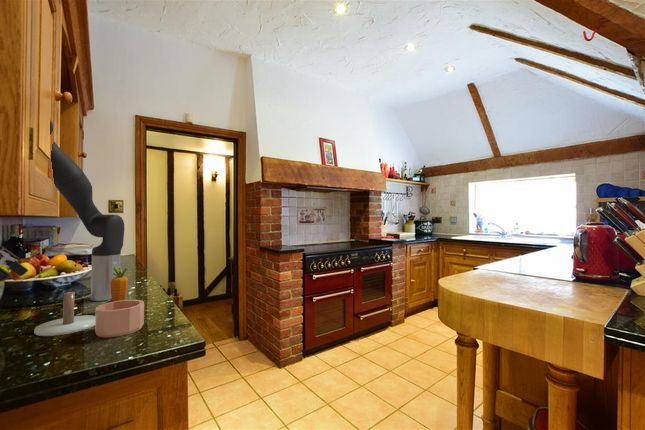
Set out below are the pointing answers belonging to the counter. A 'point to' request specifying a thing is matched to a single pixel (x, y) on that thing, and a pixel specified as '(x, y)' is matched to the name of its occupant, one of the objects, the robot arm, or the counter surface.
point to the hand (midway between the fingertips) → (16, 275)
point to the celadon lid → (66, 320)
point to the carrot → (119, 285)
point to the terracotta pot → (119, 318)
